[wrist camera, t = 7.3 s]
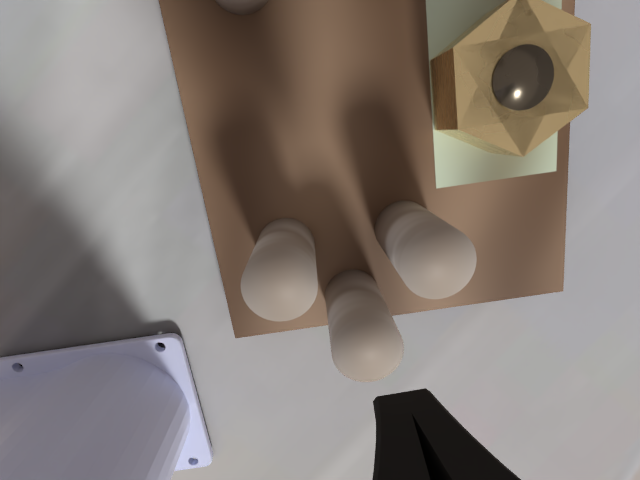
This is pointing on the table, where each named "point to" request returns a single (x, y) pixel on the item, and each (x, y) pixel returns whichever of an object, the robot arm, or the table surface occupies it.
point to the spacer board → (354, 171)
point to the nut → (512, 77)
